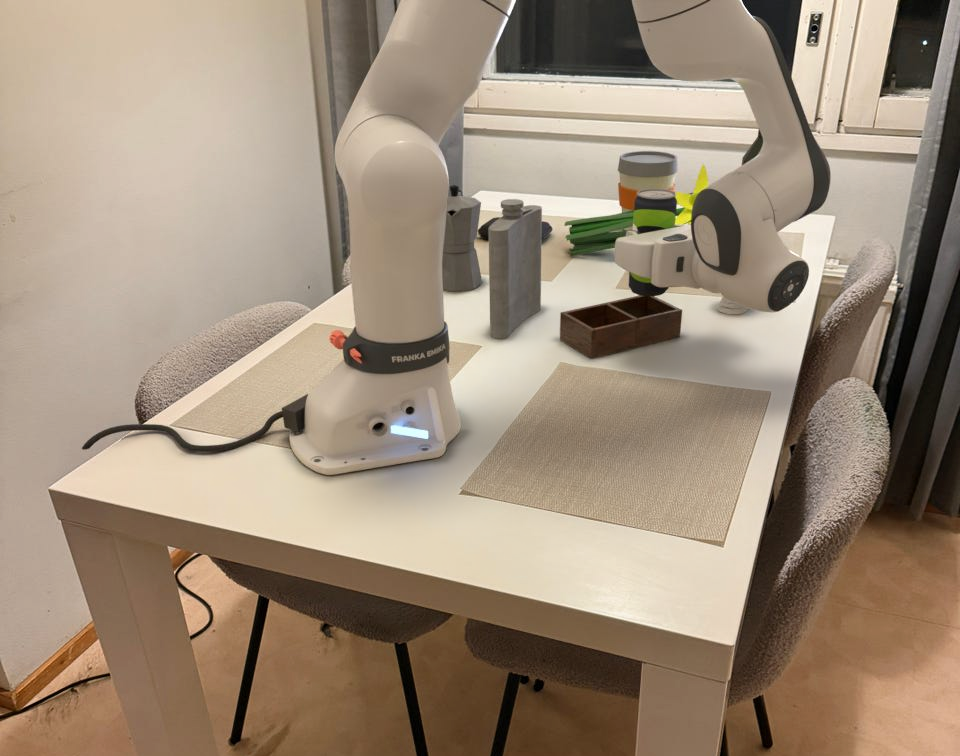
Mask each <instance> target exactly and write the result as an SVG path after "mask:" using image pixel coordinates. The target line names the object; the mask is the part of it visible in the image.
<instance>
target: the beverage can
mask: <svg viewBox="0 0 960 756" xmlns="http://www.w3.org/2000/svg"><path fill="white" fill-rule="evenodd" d="M675 192H676V191H675V190H674V191H672V190H668V189H659V188H650V189H642V190H639V191H638V192H637V197H636V199H635V201H634V215H633V229H632V230H636V231H639V232H641V234H642V233H647V232H653V231H658V230H664V229H669V228H675V219H676V218H677V216H676V209H678V208H677V206H678V204H677V199H676V198H675V196H676V193H675ZM628 273H629V274H628V287H629V289H630V290H631V292H632V293H633V294H635V295H636V296H639V295H641V296H655V297H658V296H662V295H664V294H665V293H666V292H667V290H669V288H670V287H657V286H655V285H653V284H652V279H650V278H644V277H640V276H637V275H635V274H633V273H631V272H629V271H628Z"/></svg>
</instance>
